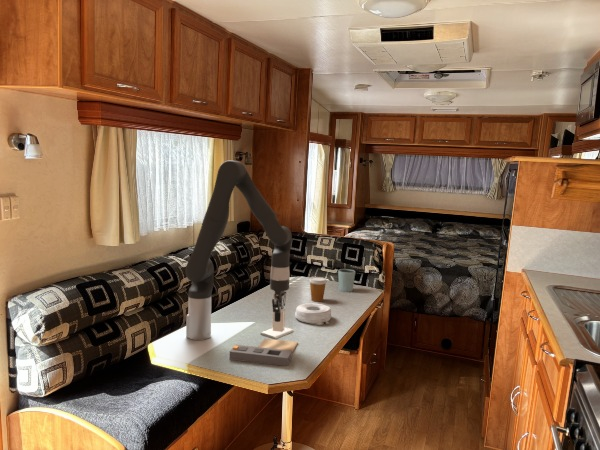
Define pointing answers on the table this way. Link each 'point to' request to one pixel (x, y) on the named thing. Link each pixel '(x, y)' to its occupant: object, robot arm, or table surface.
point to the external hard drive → (276, 333)
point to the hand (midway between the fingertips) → (278, 319)
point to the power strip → (261, 355)
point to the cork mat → (278, 344)
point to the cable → (313, 313)
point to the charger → (279, 325)
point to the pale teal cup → (346, 280)
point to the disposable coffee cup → (317, 288)
